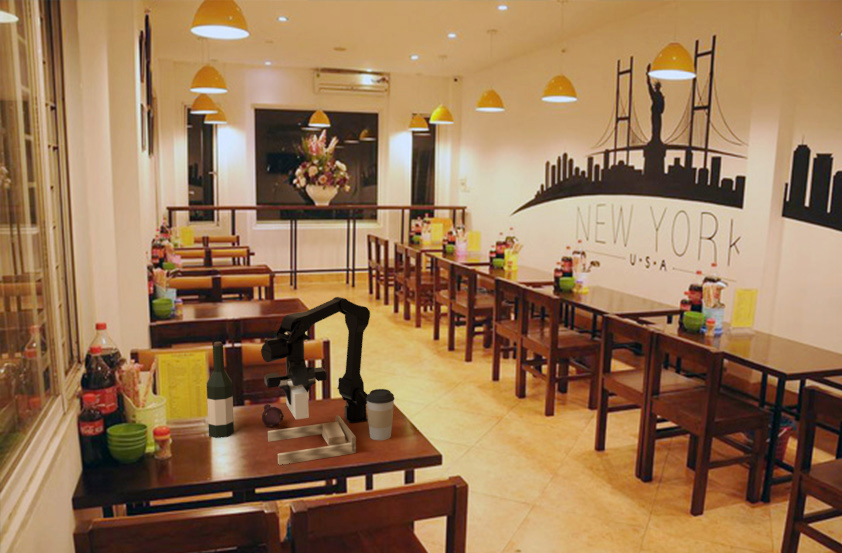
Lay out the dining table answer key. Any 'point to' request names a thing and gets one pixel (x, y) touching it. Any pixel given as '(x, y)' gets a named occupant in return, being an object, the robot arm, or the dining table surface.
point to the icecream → (272, 416)
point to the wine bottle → (219, 397)
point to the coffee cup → (380, 413)
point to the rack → (314, 452)
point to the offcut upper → (333, 433)
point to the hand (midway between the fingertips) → (297, 403)
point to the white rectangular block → (298, 401)
